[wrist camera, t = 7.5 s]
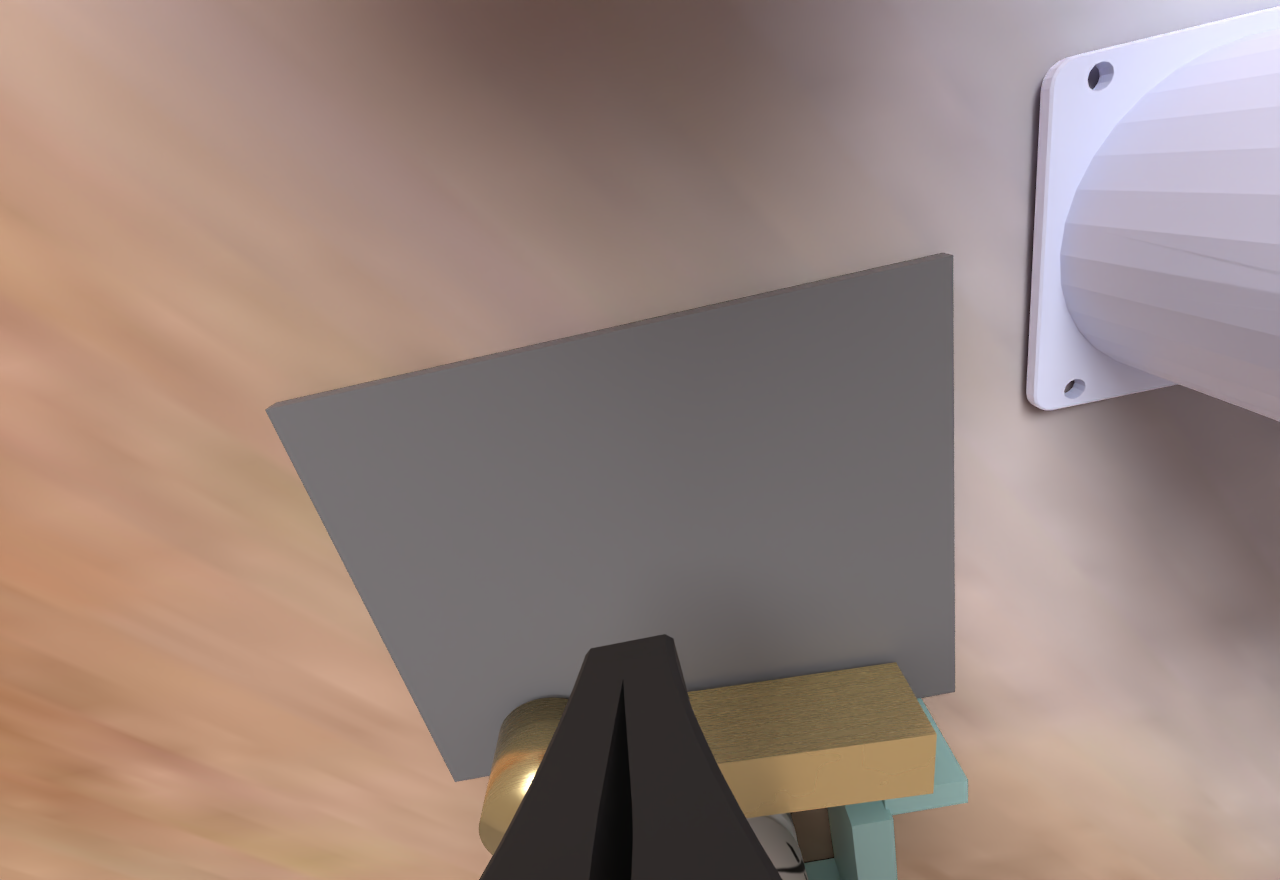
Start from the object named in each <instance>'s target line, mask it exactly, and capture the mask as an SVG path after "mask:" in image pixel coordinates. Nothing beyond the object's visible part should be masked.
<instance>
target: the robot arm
mask: <svg viewBox="0 0 1280 880" xmlns="http://www.w3.org/2000/svg"><path fill="white" fill-rule="evenodd" d="M1094 66H1096V67H1097V68H1098V69H1099V73H1100V78H1099V81H1098V84H1097V85H1096V86H1095V88H1094V89H1093V90H1092V89H1091V88H1090V87H1089V85H1088V76H1089V73H1090V71H1091V70H1092V68H1093V67H1094ZM1072 380H1074V381H1075V382H1074V385H1073V387H1072V388H1071V389H1070V390H1069V391H1068V392H1066V393H1064V390H1065V387H1066V385H1067V384H1068V383H1069V382H1070V381H1072ZM1178 384H1179V385H1182V386H1185V387H1187V388H1190V389H1193V390H1195V391H1198V392H1201V393H1203V394H1206V395H1209V396H1212V397H1214V398H1217V399H1220V400H1222V401H1225V402H1228V403H1230V404H1233V405H1236V406H1239V407H1241V408H1244V409H1247V410H1249V411H1252V412H1255V413H1257V414H1260V415H1263V416H1265V417H1268V418H1271V419H1274V420H1276V421H1279V422H1280V6H1276V7H1272V8H1268V9H1264V10H1260V11H1256V12H1252V13H1248V14H1243V15H1239V16H1235V17H1231V18H1227V19H1223V20H1219V21H1214V22H1210V23H1206V24H1202V25H1198V26H1194V27H1190V28H1185V29H1181V30H1177V31H1173V32H1169V33H1165V34H1161V35H1156V36H1152V37H1148V38H1144V39H1140V40H1136V41H1132V42H1128V43H1123V44H1119V45H1115V46H1111V47H1107V48H1103V49H1099V50H1094V51H1090V52H1086V53H1082V54H1078V55H1074V56H1070V57H1067V58H1064V59H1062V60H1060V61H1058V62H1056V63H1055V64H1054V65H1053V66H1052V67H1051V68H1050V69H1049V70H1048V72H1047V74H1046V76H1045V77H1044V79H1043V83H1042V87H1041V98H1040V119H1039V139H1038V160H1037V181H1036V201H1035V222H1034V243H1033V264H1032V284H1031V305H1030V326H1029V347H1028V367H1027V388H1026V394H1027V399H1028V401H1029V402H1030V403H1031V404H1032V405H1034V406H1036V407H1038V408H1040V409H1042V410H1045V411H1048V410H1057V409H1061V408H1066V407H1071V406H1076V405H1081V404H1086V403H1090V402H1095V401H1100V400H1105V399H1110V398H1115V397H1119V396H1124V395H1129V394H1134V393H1139V392H1144V391H1148V390H1153V389H1158V388H1163V387H1168V386H1173V385H1178ZM479 880H782V878H781V876H780V875H779V873H778V871H777V870H776V868H775V866H774V865H773V863H772V861H771V860H770V858H769V856H768V855H767V853H766V852H765V850H764V848H763V847H762V845H761V843H760V841H759V840H758V838H757V836H756V835H755V833H754V831H753V829H752V828H751V826H750V824H749V822H748V821H747V819H746V817H745V815H744V813H743V812H742V810H741V808H740V806H739V804H738V802H737V801H736V799H735V797H734V795H733V793H732V791H731V789H730V787H729V786H728V784H727V782H726V780H725V778H724V776H723V774H722V772H721V770H720V768H719V766H718V764H717V762H716V760H715V758H714V756H713V754H712V752H711V750H710V747H709V745H708V743H707V741H706V739H705V736H704V734H703V732H702V730H701V728H700V726H699V723H698V721H697V719H696V717H695V714H694V712H693V709H692V707H691V703H690V699H689V695H688V692H687V688H686V684H685V680H684V677H683V673H682V669H681V665H680V661H679V658H678V654H677V650H676V646H675V642H674V639H673V638H672V637H670V636H668V635H666V634H663V635H657V636H652V637H647V638H642V639H637V640H631V641H626V642H621V643H616V644H611V645H605V646H600V647H595V648H591V649H590V650H589V651H588V652H587V654H586V655H585V658H584V661H583V663H582V666H581V669H580V672H579V674H578V677H577V679H576V682H575V685H574V687H573V690H572V692H571V695H570V697H569V700H568V702H567V704H566V707H565V709H564V712H563V714H562V716H561V719H560V721H559V723H558V726H557V728H556V730H555V732H554V735H553V737H552V739H551V741H550V743H549V745H548V748H547V750H546V752H545V754H544V756H543V759H542V761H541V763H540V765H539V767H538V769H537V772H536V774H535V776H534V778H533V780H532V782H531V784H530V786H529V788H528V790H527V792H526V794H525V796H524V798H523V800H522V802H521V803H520V805H519V807H518V809H517V811H516V813H515V815H514V817H513V819H512V821H511V823H510V825H509V827H508V829H507V830H506V832H505V834H504V836H503V838H502V840H501V842H500V844H499V846H498V847H497V849H496V851H495V853H494V855H493V856H492V858H491V860H490V862H489V863H488V865H487V867H486V869H485V871H484V872H483V874H482V876H481V877H480V879H479Z"/></svg>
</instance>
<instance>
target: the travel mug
mask: <svg viewBox="0 0 1280 880" xmlns="http://www.w3.org/2000/svg"><path fill="white" fill-rule="evenodd" d="M746 819H747V821H748V822H749V824H750V826H751V828H752V829H753V831H754V833H755V835H756V836H757V838H758V840H759V841H760V843H761V845H762V847H763V848H764V850H765V852H766V853H767V855H768V856H769V858H770V860H771V861H772V863H773V865H774V866H775V868H776V870H777V871H778V873H779V875H780V876H781V878H782V880H808V877H807V873H806V869H805V865H804V862H803V858H802V854H801V850H800V848H799V846H798V841H797V836H796V832H795V828H794V824H793V820H792V817H791V813H783V814H775V815H768V816H760V817H753V818H746Z"/></svg>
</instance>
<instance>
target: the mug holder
mask: <svg viewBox="0 0 1280 880" xmlns="http://www.w3.org/2000/svg"><path fill="white" fill-rule="evenodd" d="M917 700H918V702H919V704H920V705H921V707H922V709H923V711H924V712H925V714H926V716H927V718H928V719H929V721H930V723H931V725H932V727H933V728H934V730H935V732H936V734H937V740H936V758H935V775H934V792H933V794H925V795H918V796H910V797H903V798H895V799H888V800H880V801H873V802H865V803H858V804H850V805H843V806H835V807H828V808H827V809H828V816H829V824H830V831H831V838H832V845H833V853H834V858H832V859H826V860H820V861H814V862H808V863H804V865H805V869H806V873H807V877H808V880H897V866H896V851H895V837H894V823H893V818H892V815H897V814H903V813H909V812H915V811H921V810H927V809H933V808H938V807H944V806H950V805H956V804H962V803H968V779H967V777H966V776H965V774H964V772H963V770H962V769H961V767H960V765H959V763H958V762H957V760H956V758H955V756H954V755H953V753H952V751H951V749H950V748H949V746H948V744H947V743H946V741H945V739H944V737H943V736H942V734H941V732H940V730H939V729H938V727H937V725H936V723H935V722H934V720H933V718H932V716H931V715H930V713H929V711H928V709H927V708H926V706H925V704H924V703H923V701H922V699H921V698H918V699H917Z"/></svg>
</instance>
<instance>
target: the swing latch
mask: <svg viewBox="0 0 1280 880" xmlns="http://www.w3.org/2000/svg"><path fill="white" fill-rule="evenodd" d="M688 695H689V699H690V703H691V707H692V709H693V712H694V714H695V717H696V719H697V721H698V723H699V726H700V728H701V730H702V732H703V734H704V736H705V739H706V741H707V743H708V745H709V747H710V750H711V752H712V754H713V756H714V758H715V760H716V762H717V764H718V766H719V768H720V770H721V772H722V774H723V776H724V778H725V780H726V782H727V784H728V786H729V787H730V789H731V791H732V793H733V795H734V797H735V799H736V801H737V802H738V804H739V806H740V808H741V810H742V812H743V813H744V815H745V817H746V818H753V817H760V816H768V815H775V814H783V813H790V812H798V811H805V810H813V809H820V808H828V807H835V806H843V805H850V804H858V803H865V802H873V801H880V800H888V799H895V798H903V797H910V796H918V795H925V794H933V792H934V775H935V758H936V740H937V734H936V732H935V730H934V728H933V727H932V725H931V723H930V721H929V719H928V718H927V716H926V714H925V712H924V711H923V709H922V707H921V705H920V704H919V702H918V700H917V698H916V697H915V695H914V693H913V691H912V690H911V688H910V686H909V684H908V682H907V681H906V679H905V677H904V675H903V674H902V672H901V670H900V668H899V667H898V665H897V663H896V662H895V663H888V664H881V665H874V666H867V667H860V668H853V669H846V670H839V671H832V672H825V673H818V674H811V675H804V676H797V677H790V678H783V679H776V680H769V681H762V682H754V683H747V684H740V685H733V686H726V687H719V688H712V689H705V690H698V691H691V692H688ZM568 700H569V699H566V698H554V697H550V698H541V699H536V700H533V701H529V702H527V703H524V704H522V705H520V706H519V707H517V708H515V709H514V710H513V711H512V712H511V713H510V714H509V715H508V716H507V717H506V718H505V720H504V721H503V723H502V725H501V728H500V732H499V736H498V741H497V745H496V750H495V754H494V759H493V763H492V768H491V773H490V777H489V782H488V786H487V791H486V795H485V800H484V804H483V809H482V813H481V818H480V823H479V835H480V838H481V841H482V843H483V844H484V846H485V847H486V849H487V850H488V851H489V852H490V853H491V854H492V855H494V853H495V851H496V849H497V847H498V846H499V844H500V842H501V840H502V838H503V836H504V834H505V832H506V830H507V829H508V827H509V825H510V823H511V821H512V819H513V817H514V815H515V813H516V811H517V809H518V807H519V805H520V803H521V802H522V800H523V798H524V796H525V794H526V792H527V790H528V788H529V786H530V784H531V782H532V780H533V778H534V776H535V774H536V772H537V769H538V767H539V765H540V763H541V761H542V759H543V756H544V754H545V752H546V750H547V748H548V745H549V743H550V741H551V739H552V737H553V735H554V732H555V730H556V728H557V726H558V723H559V721H560V719H561V716H562V714H563V712H564V709H565V707H566V704H567V702H568Z"/></svg>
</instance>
